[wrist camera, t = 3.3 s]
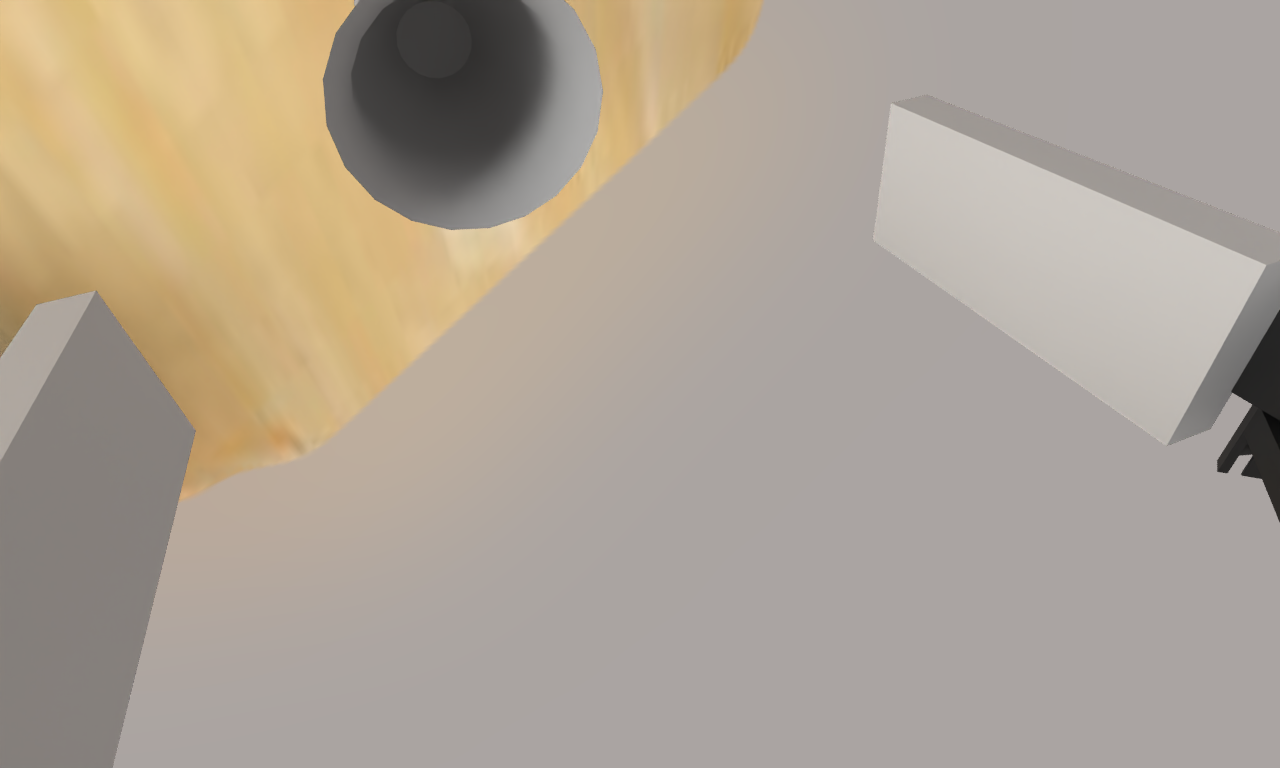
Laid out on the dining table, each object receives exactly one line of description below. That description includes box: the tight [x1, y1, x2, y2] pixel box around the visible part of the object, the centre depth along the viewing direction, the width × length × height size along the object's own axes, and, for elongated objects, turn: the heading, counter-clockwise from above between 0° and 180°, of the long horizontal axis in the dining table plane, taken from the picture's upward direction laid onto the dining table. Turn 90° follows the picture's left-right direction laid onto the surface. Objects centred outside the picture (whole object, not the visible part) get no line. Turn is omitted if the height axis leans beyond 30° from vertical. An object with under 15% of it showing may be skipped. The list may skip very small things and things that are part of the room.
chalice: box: [323, 0, 603, 230], centre depth 25 cm, size 7×7×18 cm
